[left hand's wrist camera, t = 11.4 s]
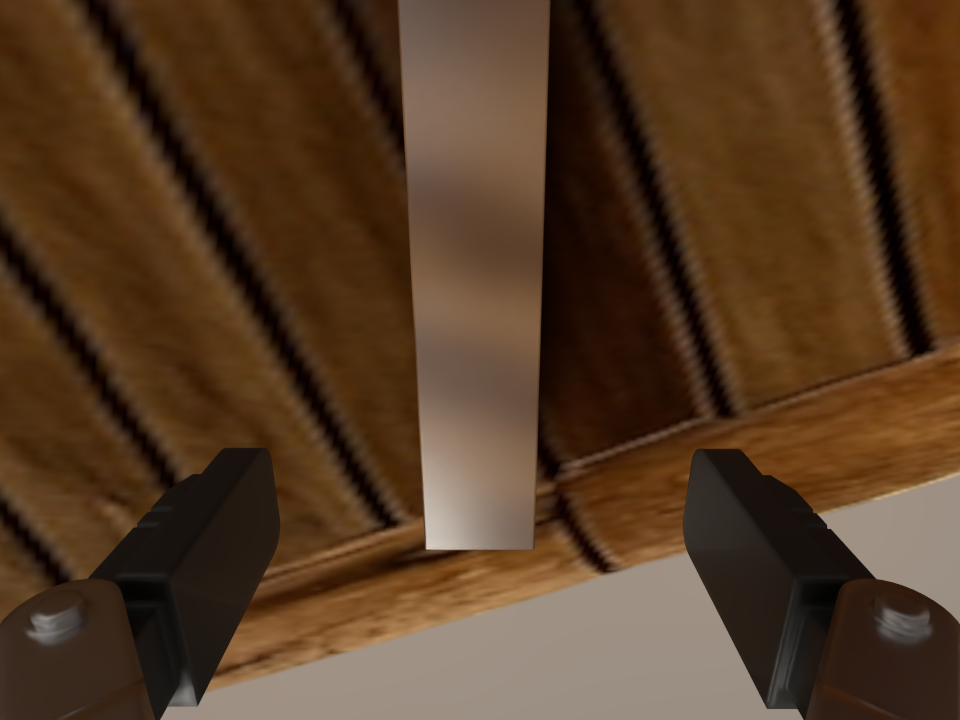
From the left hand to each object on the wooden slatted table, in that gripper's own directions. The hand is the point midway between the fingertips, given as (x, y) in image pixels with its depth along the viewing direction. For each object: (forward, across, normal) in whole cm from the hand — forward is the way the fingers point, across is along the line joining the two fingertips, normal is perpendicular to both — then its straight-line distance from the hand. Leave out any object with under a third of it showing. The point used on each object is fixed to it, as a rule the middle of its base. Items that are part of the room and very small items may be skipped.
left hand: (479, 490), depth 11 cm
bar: (+14, 0, -21) cm, 26 cm away
